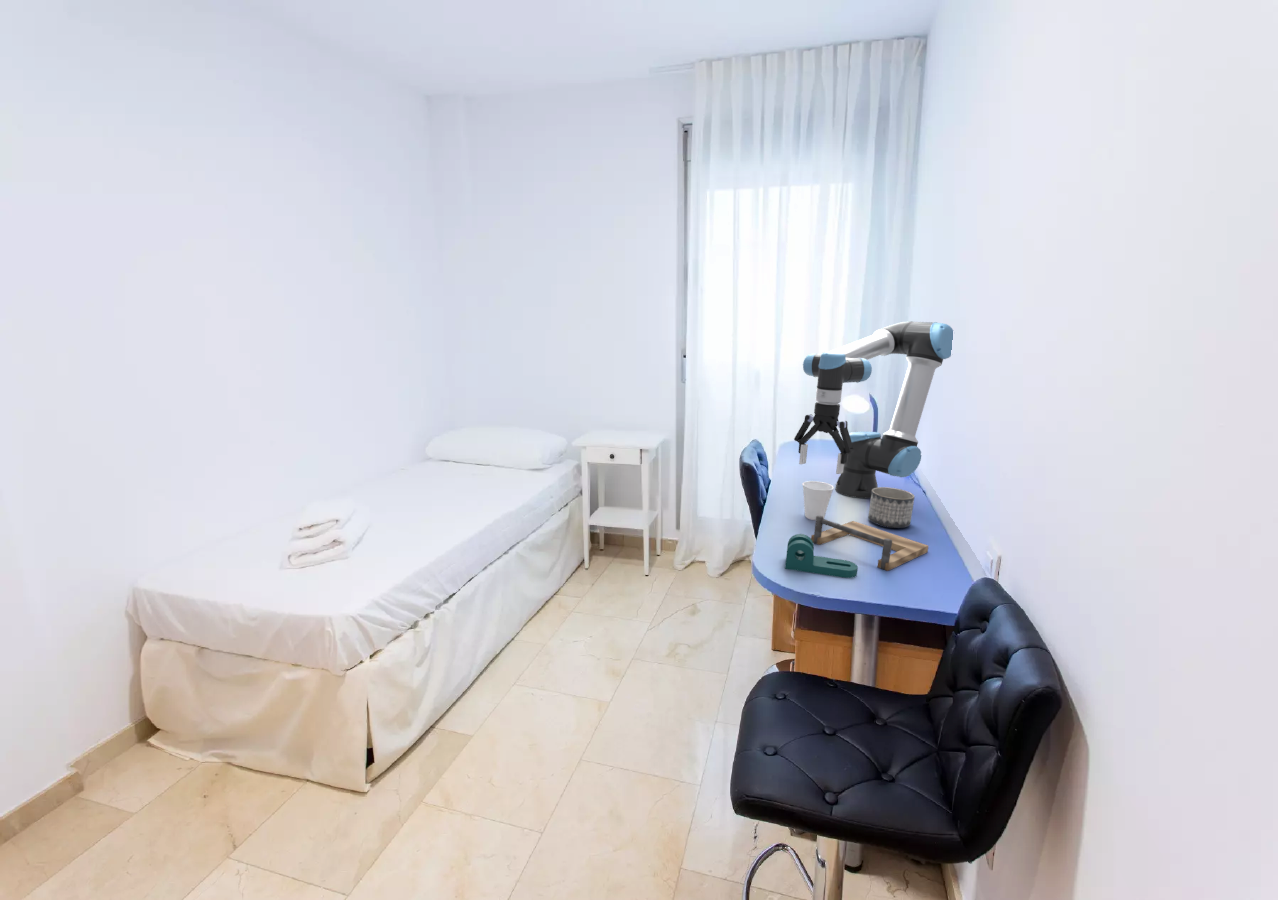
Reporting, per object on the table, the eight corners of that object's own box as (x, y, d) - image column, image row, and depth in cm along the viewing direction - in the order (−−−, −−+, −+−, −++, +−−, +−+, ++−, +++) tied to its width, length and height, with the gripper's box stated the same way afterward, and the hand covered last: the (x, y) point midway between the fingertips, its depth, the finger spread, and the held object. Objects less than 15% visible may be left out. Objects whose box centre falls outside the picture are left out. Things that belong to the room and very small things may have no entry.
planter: (864, 515, 202) (869, 485, 199) (905, 519, 199) (909, 489, 197) (871, 528, 190) (875, 496, 187) (913, 532, 187) (918, 501, 185)
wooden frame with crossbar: (852, 526, 190) (855, 502, 188) (927, 552, 172) (931, 525, 170) (810, 541, 176) (813, 516, 175) (887, 571, 158) (891, 542, 157)
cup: (792, 514, 200) (796, 482, 197) (816, 511, 204) (820, 480, 201) (812, 524, 191) (815, 491, 188) (836, 521, 195) (840, 488, 192)
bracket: (785, 569, 157) (787, 541, 156) (786, 559, 164) (789, 532, 162) (857, 580, 153) (861, 551, 151) (855, 569, 159) (859, 541, 157)
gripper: (787, 397, 194) (781, 461, 199) (857, 409, 176) (849, 479, 181) (801, 396, 199) (795, 458, 204) (871, 407, 181) (862, 475, 186)
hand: (820, 468), depth 192 cm, fingers open, 13 cm apart
